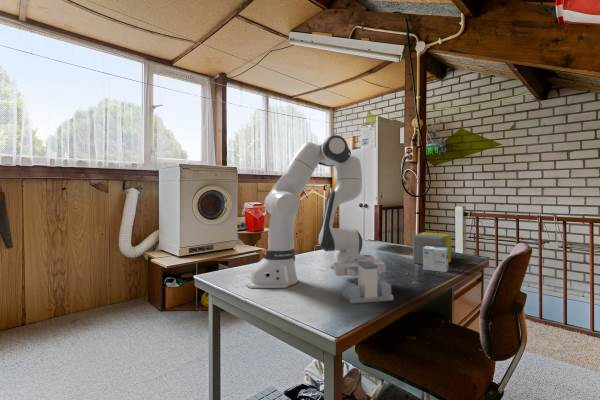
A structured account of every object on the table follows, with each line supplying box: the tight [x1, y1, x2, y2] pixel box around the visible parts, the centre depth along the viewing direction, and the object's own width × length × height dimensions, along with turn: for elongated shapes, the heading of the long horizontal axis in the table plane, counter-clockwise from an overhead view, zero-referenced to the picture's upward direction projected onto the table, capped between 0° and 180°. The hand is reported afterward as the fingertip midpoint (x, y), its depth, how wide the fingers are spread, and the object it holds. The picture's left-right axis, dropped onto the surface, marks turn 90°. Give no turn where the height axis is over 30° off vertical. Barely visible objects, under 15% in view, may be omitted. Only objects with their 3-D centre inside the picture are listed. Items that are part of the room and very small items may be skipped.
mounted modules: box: [344, 280, 392, 298], centre depth 113 cm, size 16×6×4 cm, turn 101°
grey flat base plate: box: [342, 290, 394, 305], centre depth 113 cm, size 16×8×2 cm, turn 101°
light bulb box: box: [422, 246, 449, 273], centre depth 151 cm, size 11×7×11 cm, turn 58°
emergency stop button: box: [412, 231, 452, 266], centre depth 167 cm, size 15×24×15 cm, turn 139°
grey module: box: [357, 261, 378, 297], centre depth 113 cm, size 5×7×11 cm, turn 11°
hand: (366, 273), depth 113 cm, fingers open, 8 cm apart
